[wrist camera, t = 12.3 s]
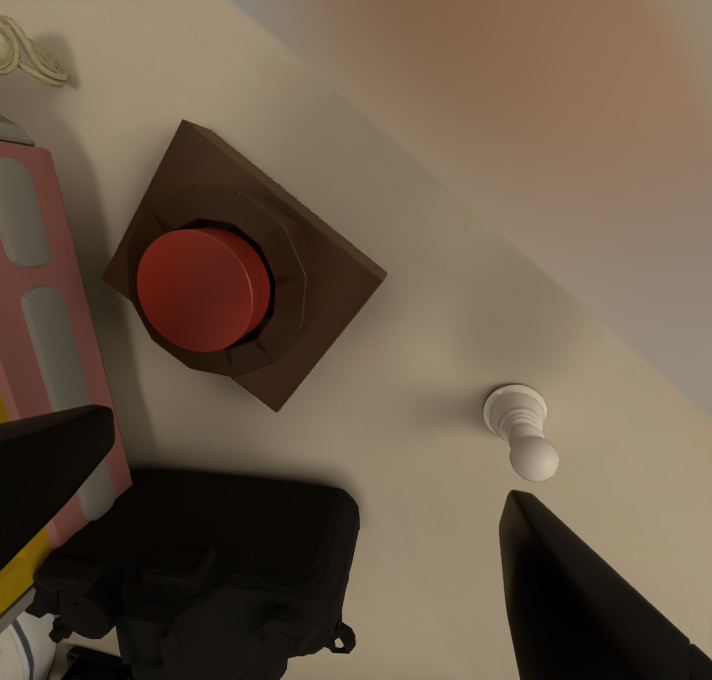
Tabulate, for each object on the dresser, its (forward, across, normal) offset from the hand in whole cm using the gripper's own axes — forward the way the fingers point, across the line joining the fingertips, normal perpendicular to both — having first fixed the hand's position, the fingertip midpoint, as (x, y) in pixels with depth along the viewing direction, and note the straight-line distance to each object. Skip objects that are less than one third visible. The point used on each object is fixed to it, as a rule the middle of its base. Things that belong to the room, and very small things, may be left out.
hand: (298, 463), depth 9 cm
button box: (+11, +6, -2) cm, 13 cm away
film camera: (+11, +5, +14) cm, 18 cm away
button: (+7, +6, -2) cm, 9 cm away
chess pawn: (+11, -8, +3) cm, 14 cm away
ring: (+11, +15, -10) cm, 21 cm away
